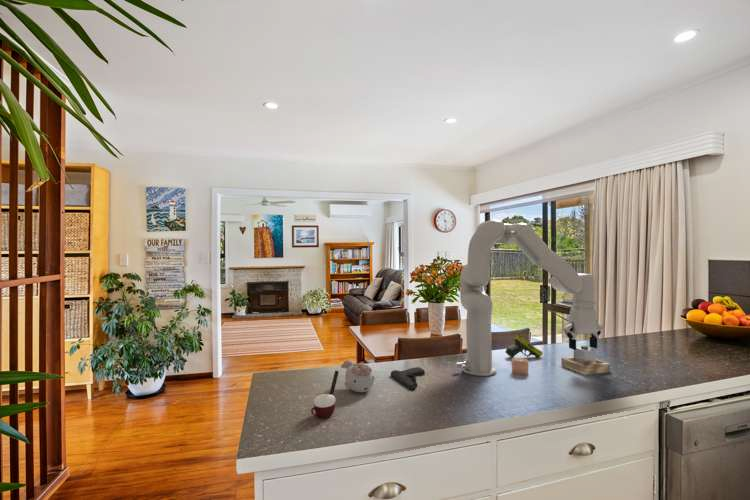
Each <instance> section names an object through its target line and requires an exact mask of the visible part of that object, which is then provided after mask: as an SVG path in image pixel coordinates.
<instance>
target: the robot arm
mask: <svg viewBox="0 0 750 500" xmlns="http://www.w3.org/2000/svg"><path fill="white" fill-rule="evenodd" d="M494 244H500V245H516V246H517V248H518V249H520V251H521V252H522V253H523V254H524V255H525V256H526V257H527V259H528V260H529V261H530V262H531V263H532V264H533V265H535V266H537V267H539V268H541V269H542V270H544V271H546V272H548V273H549V274H550V275H552V277H550V286H551V288H553V290H556V291H559V292H563V293H567V294H572V307H571V308H570V311H569V314H568V321H567V322H568V324H567V325H566V326H564V327H563V332H564V334H565V336H566V337H567V339H568V348H569V349H571V350H573V349H574V350H576V347H577V339H576V338H577V336H578V335H589V348H591V349H594V350H597V349H598V339H599V338H600V335H601V333H602V330H603V326H602V325H601V324H599V323H598V317H597V310H596V308H595V306H596V305H597V304H596V302H595V284H596V283H595V281H596V280H595V276H594V275H593V274H591V273H578V272H577V271H576V269H574V267H573V266H572V264H570V263H569V262H568V261H566V259H564V258H563V257H561V256H560V255H559V254H557V253H556V252H555V251H554V250H552V249H551V248H550V247H549V246H548V245H547V244H546V242H544V240H543V239H542V238H541V237H540V236H539V234H538V233H537V232H536V231H535V230H534V229H533V228H532V227H531V225H529V224H528V223H524V222H518V223H504V222H502V221H501V220H499V219H489V220H487V221H486V220H485V221H483V222H481V223H479V224H478V225H477V227H476V229H475V232H474V233H473V235H472V236H471V238H470V241H469V244H468V248H467V249H468V251H467V264H466V265H464V266H463V268H462V269H461V272H460V290H459V296H460V297H459V299H460V304H461V305H462V307H463V308H464V309H465V310H466V319H465V320H466V321H465V322H466V323H465V331H466V332H465V333H466V334H465V335H466V337H465V338H466V358H464V360H463V361H462V362H460V361H459V362H455V364H454V365H455V368H461V369H462V371H463V372H464V373H465V374H468V375H471V376H477V377H489V376H494V375H495V374H496V373H497V368H495V367H494V366H493V355H492V354H493V352H492V346H493V345H492V318H493V317H492V315H493V300H492V299H491V297H490V295H488V294H487V292H484V287H486V286H487V285H488V284H489V283H490V279H491V252H492V248H493V246H494ZM574 350H573V351H574Z"/></svg>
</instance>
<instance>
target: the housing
mask: <svg viewBox="0 0 750 500" xmlns="http://www.w3.org/2000/svg"><path fill="white" fill-rule="evenodd" d="M572 350H573V357H574V362H577V363H579V364H582V365H591V364H596V359H597V355H596V354H597V351H596V350H597V349H595V348H592V347H589V346H587V345H581V346H576V350H574V349H572Z"/></svg>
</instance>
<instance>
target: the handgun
mask: <svg viewBox="0 0 750 500" xmlns="http://www.w3.org/2000/svg"><path fill="white" fill-rule="evenodd" d="M425 373H426V372H425V369H423V368H421V367H419V366H416V367H412V368H409V369H405V370H397V369H394V370H392V371H391V372H390V378H393V379H394V380H396V382H399V383H400V384H401V385H403V386H404V387H406V389H407V388H408V389H409V390H410V391H411V390H412V391H415V390H416V389H417V388H418V383H417V377H418V376H425Z"/></svg>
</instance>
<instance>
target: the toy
mask: <svg viewBox="0 0 750 500" xmlns="http://www.w3.org/2000/svg"><path fill="white" fill-rule="evenodd" d="M340 368H341V369H345V370H346V371H345V373H344V374H345V375H344V377H345V381H344V383H343V384H344V386H345V388H346V390H348V391H350V390H352V391H353V392H355V393H366V392H368V391H369V390H371V388H372V387H373V385H374V382H375V375H374V374H373V372H372V371H373V369H372V367H370V366H369V365H368V364H365V363H364V362H358V363H357V362H355V363H354V362H353V360H350V359H347V360H345V361H343V363H342V364H341V365H340Z"/></svg>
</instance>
